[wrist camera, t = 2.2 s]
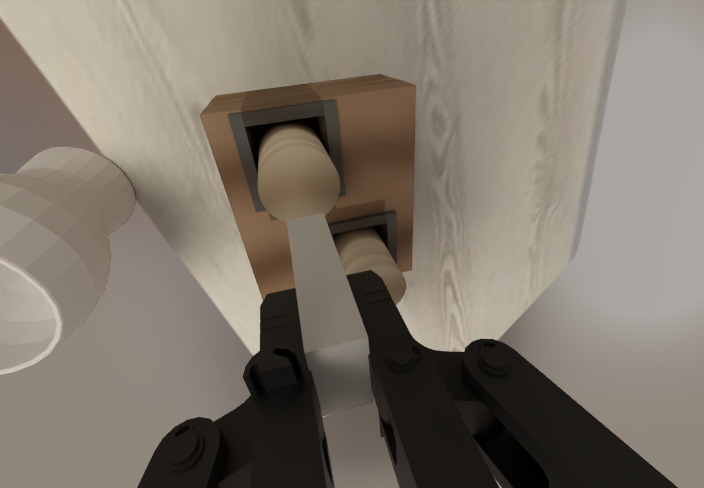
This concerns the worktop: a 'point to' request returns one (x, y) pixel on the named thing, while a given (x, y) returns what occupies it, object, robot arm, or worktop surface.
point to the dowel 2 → (369, 258)
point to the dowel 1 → (295, 171)
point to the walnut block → (344, 151)
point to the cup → (55, 248)
